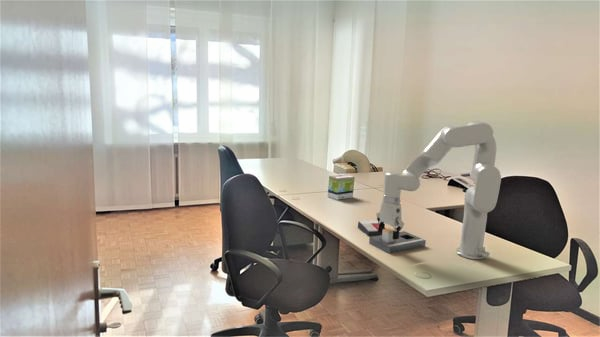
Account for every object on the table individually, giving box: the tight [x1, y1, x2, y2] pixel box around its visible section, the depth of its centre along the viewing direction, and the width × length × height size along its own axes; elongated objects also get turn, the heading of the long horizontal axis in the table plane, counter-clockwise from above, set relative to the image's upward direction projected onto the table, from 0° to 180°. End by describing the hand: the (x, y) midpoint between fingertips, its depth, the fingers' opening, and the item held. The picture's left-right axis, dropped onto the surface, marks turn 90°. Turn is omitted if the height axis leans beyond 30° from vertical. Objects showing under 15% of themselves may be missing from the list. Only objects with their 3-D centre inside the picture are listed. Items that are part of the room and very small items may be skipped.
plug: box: [382, 227, 394, 243], centre depth 194 cm, size 4×4×8 cm
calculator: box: [357, 220, 387, 237], centre depth 216 cm, size 11×4×15 cm
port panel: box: [368, 230, 427, 255], centre depth 197 cm, size 14×22×4 cm, turn 120°
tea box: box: [327, 173, 355, 201], centre depth 283 cm, size 15×10×15 cm, turn 129°
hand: (388, 235), depth 193 cm, fingers open, 9 cm apart
